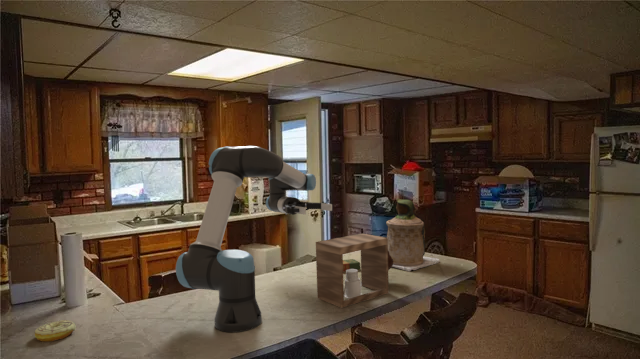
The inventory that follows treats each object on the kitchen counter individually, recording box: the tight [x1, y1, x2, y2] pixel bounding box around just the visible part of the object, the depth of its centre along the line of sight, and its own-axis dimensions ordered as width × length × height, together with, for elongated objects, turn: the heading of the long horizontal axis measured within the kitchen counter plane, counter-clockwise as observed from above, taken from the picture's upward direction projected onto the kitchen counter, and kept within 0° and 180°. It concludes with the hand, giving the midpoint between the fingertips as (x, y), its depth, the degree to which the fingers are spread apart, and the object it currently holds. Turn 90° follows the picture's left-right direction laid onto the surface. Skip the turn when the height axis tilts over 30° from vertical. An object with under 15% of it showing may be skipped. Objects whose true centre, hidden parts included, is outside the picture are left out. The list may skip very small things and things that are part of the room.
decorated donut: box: [34, 319, 77, 343], centre depth 136 cm, size 10×11×4 cm
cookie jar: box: [386, 197, 440, 273], centre depth 211 cm, size 25×25×32 cm
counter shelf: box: [315, 233, 390, 309], centre depth 165 cm, size 24×14×22 cm, turn 128°
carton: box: [343, 258, 361, 273], centre depth 203 cm, size 8×16×4 cm, turn 109°
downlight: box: [344, 269, 363, 299], centre depth 165 cm, size 8×7×10 cm
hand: (318, 209), depth 177 cm, fingers open, 13 cm apart
